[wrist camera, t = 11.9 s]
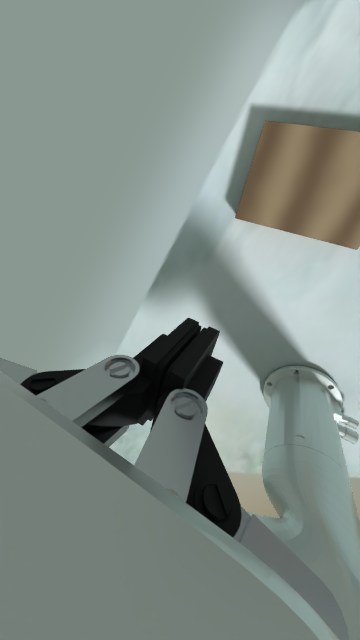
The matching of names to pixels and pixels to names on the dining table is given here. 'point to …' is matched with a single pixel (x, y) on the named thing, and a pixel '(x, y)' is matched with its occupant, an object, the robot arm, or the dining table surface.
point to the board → (305, 183)
